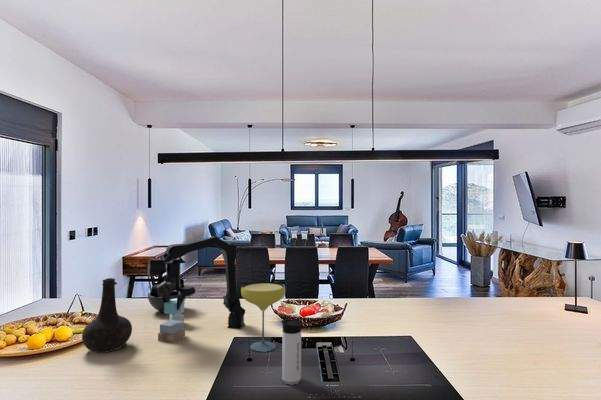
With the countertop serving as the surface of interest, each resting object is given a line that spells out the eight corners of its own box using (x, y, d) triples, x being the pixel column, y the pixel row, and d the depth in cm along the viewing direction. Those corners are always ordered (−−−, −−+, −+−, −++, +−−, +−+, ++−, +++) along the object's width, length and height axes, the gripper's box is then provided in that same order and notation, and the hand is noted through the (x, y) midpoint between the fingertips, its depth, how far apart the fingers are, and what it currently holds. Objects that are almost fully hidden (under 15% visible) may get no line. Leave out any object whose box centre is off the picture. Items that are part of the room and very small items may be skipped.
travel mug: (280, 376, 125) (281, 317, 125) (300, 375, 125) (300, 317, 125) (281, 385, 118) (281, 324, 119) (301, 385, 119) (302, 323, 119)
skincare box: (171, 326, 174) (171, 301, 174) (169, 324, 177) (169, 299, 177) (184, 324, 177) (184, 299, 177) (182, 321, 181) (182, 297, 181)
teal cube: (181, 311, 162) (181, 301, 162) (174, 314, 157) (174, 304, 157) (171, 310, 163) (171, 300, 163) (164, 313, 158) (164, 303, 158)
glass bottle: (80, 361, 136) (81, 285, 136) (83, 344, 152) (84, 277, 152) (133, 352, 144) (133, 281, 144) (130, 337, 160) (131, 273, 160)
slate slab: (183, 329, 162) (183, 321, 162) (173, 334, 155) (173, 326, 155) (170, 327, 164) (170, 319, 164) (159, 332, 157) (159, 324, 157)
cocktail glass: (291, 342, 156) (291, 283, 156) (274, 359, 138) (275, 293, 139) (253, 336, 161) (253, 280, 162) (232, 352, 144) (232, 289, 144)
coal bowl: (179, 317, 188) (179, 280, 188) (140, 316, 188) (141, 280, 188) (191, 306, 208) (191, 273, 208) (156, 305, 208) (156, 272, 208)
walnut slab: (185, 336, 162) (185, 329, 162) (174, 343, 154) (174, 335, 154) (169, 335, 164) (169, 327, 164) (157, 341, 156) (158, 333, 156)
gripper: (142, 275, 155) (142, 312, 154) (181, 278, 150) (181, 317, 150) (159, 271, 165) (158, 305, 165) (196, 273, 161) (195, 309, 160)
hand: (172, 309), depth 160 cm, fingers closed on teal cube, 5 cm apart
